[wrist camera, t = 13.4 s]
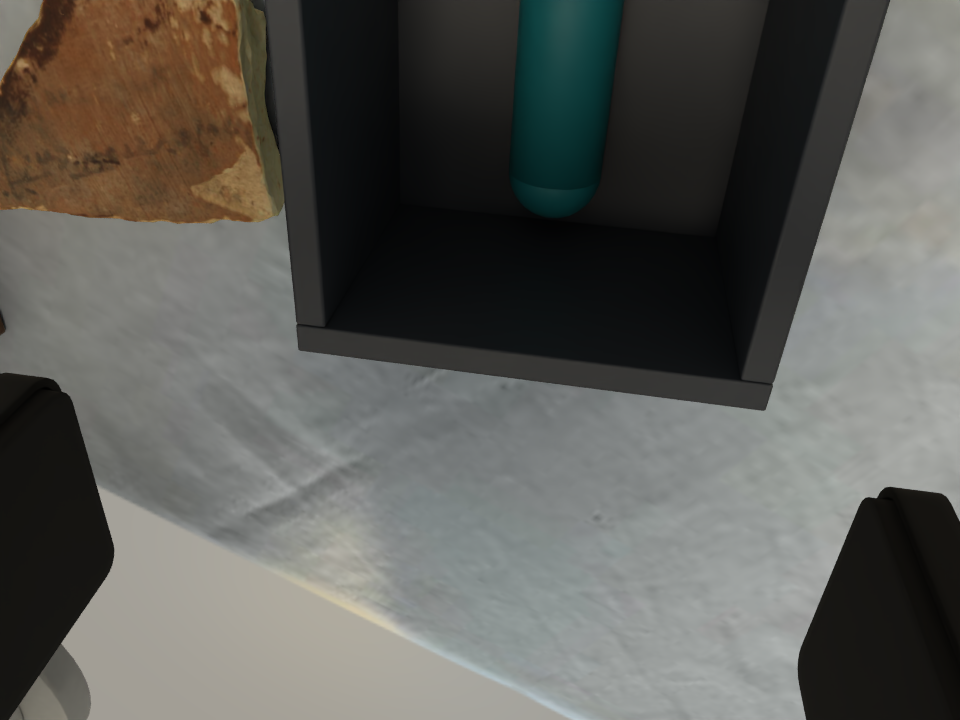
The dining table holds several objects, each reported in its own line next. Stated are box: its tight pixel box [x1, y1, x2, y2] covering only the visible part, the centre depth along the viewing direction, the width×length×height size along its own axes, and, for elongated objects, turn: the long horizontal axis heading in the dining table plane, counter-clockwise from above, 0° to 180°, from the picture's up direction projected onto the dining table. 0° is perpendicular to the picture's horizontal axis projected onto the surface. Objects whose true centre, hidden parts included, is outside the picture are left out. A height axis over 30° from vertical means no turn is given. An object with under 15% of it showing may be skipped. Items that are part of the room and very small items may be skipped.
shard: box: [0, 0, 285, 224], centre depth 23 cm, size 11×8×2 cm
